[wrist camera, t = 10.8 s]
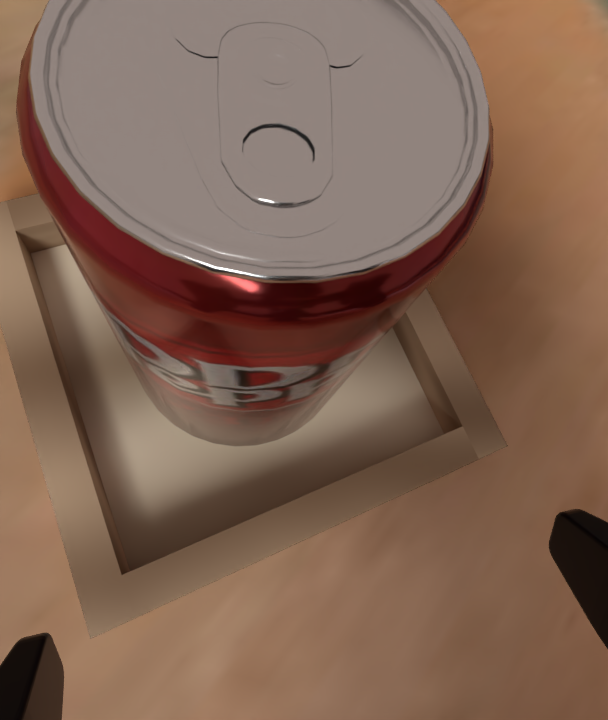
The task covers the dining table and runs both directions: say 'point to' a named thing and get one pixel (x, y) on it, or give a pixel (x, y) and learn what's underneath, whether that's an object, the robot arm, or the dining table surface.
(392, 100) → the soda can
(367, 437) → the birch tray
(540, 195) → the dining table surface
